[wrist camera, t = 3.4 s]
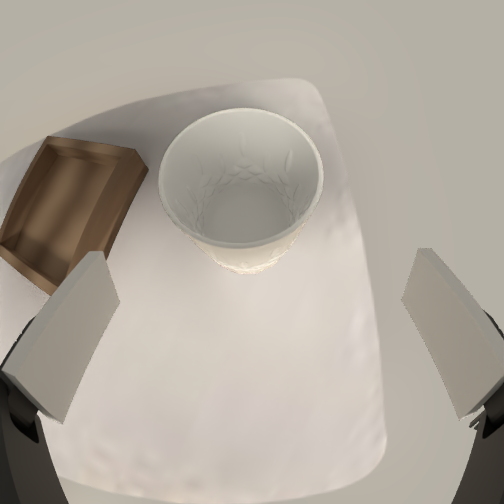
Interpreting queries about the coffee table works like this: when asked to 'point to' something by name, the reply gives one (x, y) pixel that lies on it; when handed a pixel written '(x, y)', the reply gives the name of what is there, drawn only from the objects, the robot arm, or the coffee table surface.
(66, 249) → the tray
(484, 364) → the robot arm
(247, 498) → the coffee table surface
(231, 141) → the white cup
